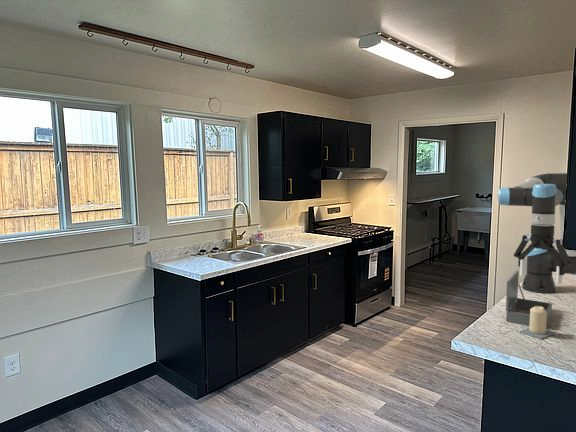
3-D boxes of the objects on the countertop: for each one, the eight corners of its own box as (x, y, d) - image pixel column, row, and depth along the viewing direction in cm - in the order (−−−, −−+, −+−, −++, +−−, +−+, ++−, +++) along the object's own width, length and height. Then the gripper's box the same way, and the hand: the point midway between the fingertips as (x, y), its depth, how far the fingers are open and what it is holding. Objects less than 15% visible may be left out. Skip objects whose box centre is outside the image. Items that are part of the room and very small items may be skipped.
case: (515, 306, 188) (516, 269, 186) (551, 312, 178) (553, 274, 177) (504, 321, 170) (506, 281, 168) (545, 329, 161) (547, 286, 159)
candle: (534, 334, 154) (536, 309, 153) (526, 329, 160) (527, 304, 159) (549, 334, 154) (550, 309, 153) (539, 328, 160) (541, 304, 159)
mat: (534, 327, 163) (534, 325, 163) (555, 334, 156) (555, 332, 156) (519, 332, 158) (519, 330, 158) (540, 339, 151) (540, 338, 151)
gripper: (505, 222, 162) (503, 273, 164) (573, 229, 140) (570, 288, 142) (516, 220, 165) (514, 271, 168) (584, 227, 143) (581, 285, 146)
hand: (540, 279), depth 155 cm, fingers open, 13 cm apart
